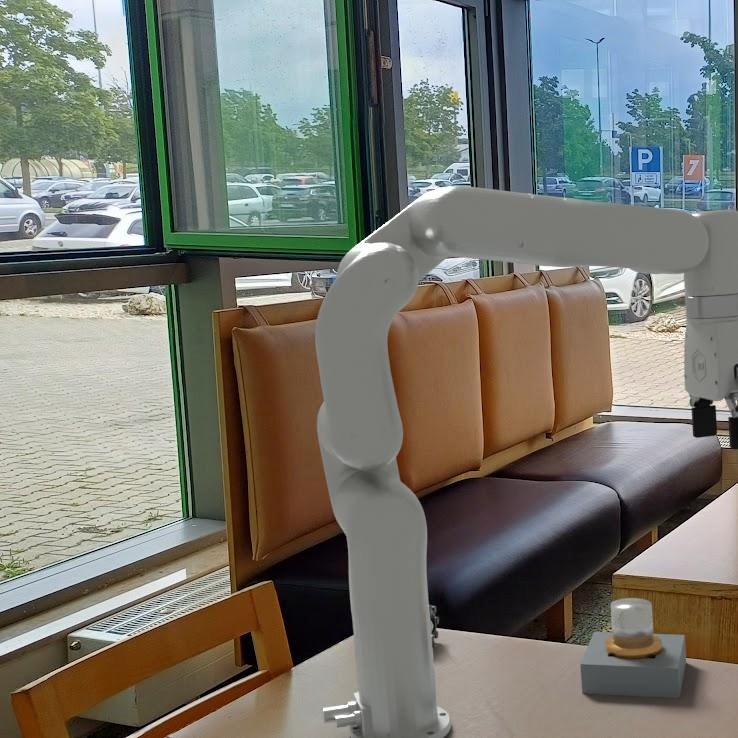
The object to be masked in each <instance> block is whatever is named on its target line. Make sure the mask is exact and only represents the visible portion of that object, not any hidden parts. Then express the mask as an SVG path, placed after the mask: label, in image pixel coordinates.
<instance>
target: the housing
mask: <svg viewBox="0 0 738 738" xmlns="http://www.w3.org/2000/svg"><path fill="white" fill-rule="evenodd" d="M653 635H655V636H657V637H659V638H660V639H661V640H662V652H661V653H660V654H658V655H656V656H654V658H645V659H623V658H618V657H614V656H612V655H610V654H608V653H607V652H606V648H605V640H606V639H607V638H608V637H610V636H612V631H611V632H609V631H608V632H607V631H603V632H602V631H594V632H593V633H592V636H591V638H590V640H589V643H588V646H587V648H586V649H585V651H584V655H583V657H582V660H581V662H580V678H581V693H582V694H586V695H587V694H588V695H589V694H590V695H609V696H625V697H626V696H629V697H631V696H632V697H646V698H648V697H650V698H668V699H680V698H681V692H682V688H683V682H684V677H685V672H686V665H687V653H686V637H685V636H686V635H685V634H673V633H672V634H668V633H667V634H666V633H665V634H664V633H653Z"/></svg>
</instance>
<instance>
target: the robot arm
mask: <svg viewBox="0 0 738 738" xmlns="http://www.w3.org/2000/svg"><path fill="white" fill-rule="evenodd" d="M449 257H456V258H466V259H475V260H476V259H477V260H483V261H484V260H485V261H494V262H503V263H504V262H505V263H513V264H514V263H515V264H521V265H522V264H523V265H531V266H542V267H554V268H574V267H575V268H576V267H604V268H607V267H608V268H619V269H630V270H631V271H633V272H635V273H639V274H644V275H664V274H665V275H681V274H682V275H683V280H684V281H683V282H684V296H685V297H684V299H685V302H684V303H685V316H686V317H685V318H686V319H685V321H686V326H685V334H684V346H683V347H684V351H683V352H684V355H683V360H684V361H683V365H684V367H683V372H684V375H683V376H684V389H685V392H686V393H688V395H689V397H690V398H689V406H690V407H691V424H692V436H693V438H696V439H699V438H707V437H715V436H717V434H718V426H717V425H718V423H717V421H718V420H717V406H716V405H715V404H714V405H713V403H714V402H721V401H723V400H724V401H725V403H726V406H727V407H728V408H727V409H728V410H729V413H730V415H731V416H728V418H727V419H728V431H729V432H728V437H729V448H730V449H732V450H738V404H737V401H738V210H735V209H716V210H705V211H695V212H691V213H689V212H687V211H684V210H683V211H682V210H679V209H672V208H671V209H669V208H661V207H654V206H653V207H652V206H647V205H646V206H644V205H635V204H627V203H626V204H624V203H613V202H604V201H594V200H593V201H592V200H585V199H581V198H573V197H572V198H571V197H564V196H563V197H562V196H553V195H546V194H545V195H543V194H542V195H541V194H533V193H524V192H519V191H518V192H517V191H515V192H514V191H507V190H501V189H493V188H492V189H490V188H484V187H474V186H466V185H449V186H444V187H439V188H437V189H432V190H430V191H427V192H425V193H424V194H422V195H421V196H419V197H418V198H417V199H415V200H414V201H412V203H410V204H409V205H407V207H405V208H404V209H403V210H401V211H400V212H399V213H398V214H396V215H395V216H394V217H392V218H391V219H390V220H389V221H387V222H385V224H383V225H382V226H381V227H379V228H378V229H377V230H374V231H373V233H371V234H370V235H368V236H367V237H366V238H364V239H363V240H362V241H361V242H359V243H358V244H356V245H355V246H354V247H352V248H351V249H349V251H348V252H347V253H346V254H345V255H344V257H343V258H342V259H341V260H340V263H339V265H338V268H337V272H336V278H335V279H334V281H333V282H332V284H331V285H330V287H329V288H328V291H326V294H325V296H324V298H323V300H322V303H321V305H320V308H319V311H318V314H317V318H316V325H315V333H314V334H315V336H314V337H315V351H316V360H317V367H318V371H319V372H318V373H319V379H320V386H321V390H322V397H323V398H322V399H323V402H322V404H321V406H320V408H319V410H318V413H317V418H316V433H317V438H318V440H317V441H318V443H319V444H318V446H319V449H320V456H321V459H322V464H323V470H324V475H325V480H326V486H327V489H328V496H329V499H330V503H331V504H330V505H331V508H332V512H333V515H334V517H335V520H336V522H337V524H338V525H339V527H340V528H341V529H342V531H343V533H344V534H345V536H346V537H345V538H346V542H347V549H348V550H347V551H348V552H347V554H348V585H349V587H348V588H349V600H350V601H349V602H350V612H351V618H352V619H351V620H352V630H353V632H352V633H353V640H354V641H353V642H354V652H355V653H354V654H355V665H356V677H357V687H358V689H357V690H358V691H357V692H353V700H347V701H346V704H342V705H331V706H324V707H323V706H322V707H321V713H322V720H323V724H329V723H335V726H336V729H337V728H344V727H348V728H349V729H348V730H349V736H350V738H445V737H446V736H447V735H448V734H449V732H450V731H451V728H452V722H451V719H452V718H451V715H450V714H449V712H448V711H447V710H445V709H444V708H442V707H441V706H438V702H437V689H436V677H435V676H436V675H435V664H434V663H435V662H434V651H433V649H434V648H432V637H431V624H430V621H431V619H430V611H429V605H430V604H429V603H430V601H429V591H428V578H427V577H428V576H427V554H428V553H427V551H428V550H427V549H428V525H427V520H426V515H425V511H424V508H423V506H422V504H421V502H420V500H419V498H418V497H417V496H416V494H415V493H414V492H413V490H412V489H410V488H409V487H408V486H407V485H406V484H405V483H403V482H402V481H401V477H400V471H399V466H398V461H397V456H398V454H399V452H400V451H401V449H402V445H403V440H404V439H403V438H404V428H403V422H402V418H401V415H400V410H399V406H398V400H397V397H396V392H395V387H394V382H393V377H392V371H391V366H390V365H391V364H390V357H389V356H390V355H389V350H388V349H389V348H388V336H389V331H390V327H391V325H392V323H393V321H394V320H395V319H394V318H395V317H396V316H397V315H398V314H399V312H400V311H401V310H402V309H404V308H405V307H406V306H407V305H408V304H409V303H411V301H412V299H413V298H414V297H415V295H416V293H417V291H418V287H419V282H420V280H422V279H423V278H424V277H425V276H427V275H428V274H429V273H430V272H431V271H433V270H434V269H435V268H437V267H438V266H439V265H440V264H441V263H443V261H445V260H446V259H448V258H449Z"/></svg>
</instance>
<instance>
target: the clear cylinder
mask: <svg viewBox="0 0 738 738" xmlns="http://www.w3.org/2000/svg"><path fill="white" fill-rule="evenodd" d="M610 615H611V632H612V636H610V637H608V638H607V639H606V640H605V648H606V652H607V653H608V654H610V655H612V656H614V657H618V658H623V659H645V658H654V656H656V655H658V654H660V653H661V652H662V640H661V639H660V638H659V637H657V636H655V635H653V634H654V623H653V622H654V621H653V619H654V618H653V605H652V602H651V601H650V600H647V599H644V598H640V597H639V598H636V597H627V598H620V599H616V600H613V601H611V602H610Z"/></svg>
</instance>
